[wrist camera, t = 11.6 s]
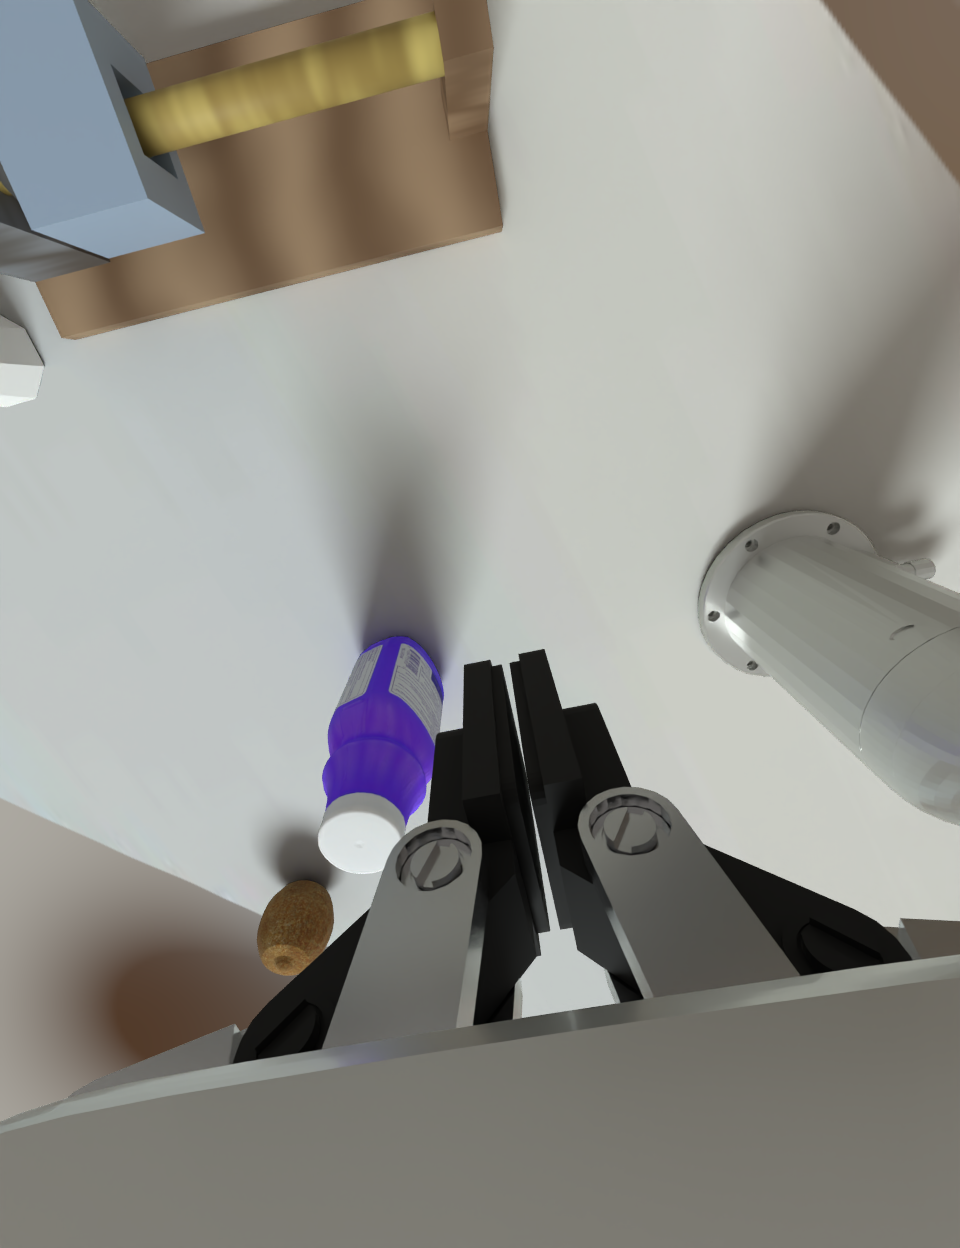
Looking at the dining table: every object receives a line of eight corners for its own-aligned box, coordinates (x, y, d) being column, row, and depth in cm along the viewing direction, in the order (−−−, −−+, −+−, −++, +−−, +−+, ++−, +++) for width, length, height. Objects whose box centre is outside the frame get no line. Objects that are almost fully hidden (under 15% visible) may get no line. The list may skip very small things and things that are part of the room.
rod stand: (462, -10, 26) (459, -211, 17) (501, 231, 30) (515, 166, 21) (-23, 128, 28) (-246, 8, 19) (75, 339, 32) (-73, 320, 23)
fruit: (305, 918, 52) (278, 1004, 45) (261, 880, 50) (226, 964, 42) (355, 892, 51) (336, 977, 43) (313, 852, 49) (286, 934, 41)
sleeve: (144, 58, 23) (64, -24, 19) (204, 232, 26) (148, 198, 21) (38, 89, 23) (-67, 15, 19) (108, 258, 26) (31, 230, 21)
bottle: (345, 648, 40) (265, 816, 24) (410, 616, 39) (371, 769, 23) (394, 720, 43) (350, 913, 27) (456, 692, 42) (449, 875, 26)
